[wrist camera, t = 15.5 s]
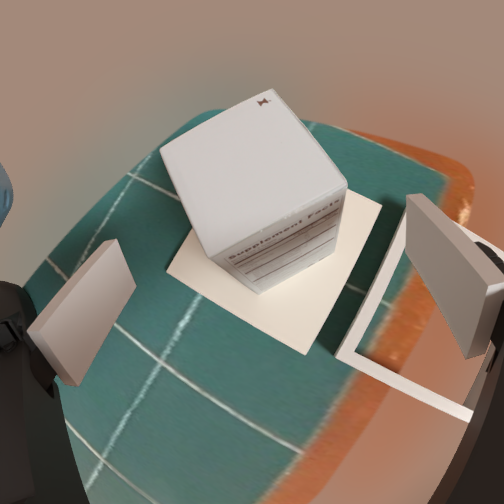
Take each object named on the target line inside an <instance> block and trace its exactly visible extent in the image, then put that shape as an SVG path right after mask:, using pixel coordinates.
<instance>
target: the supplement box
mask: <svg viewBox="0 0 504 504" xmlns="http://www.w3.org/2000/svg"><path fill="white" fill-rule="evenodd" d="M159 151H160V154H161V157H162V159H163V162H164V164H165V167H166V169H167V171H168V174H169V176H170V178H171V181H172V183H173V185H174V188H175V190H176V192H177V194H178V197H179V199H180V201H181V203H182V205H183V208H184V210H185V212H186V214H187V216H188V218H189V221H190V223H191V225H192V227H193V229H194V231H195V234H196V236H197V238H198V240H199V242H200V244H201V246H202V248H203V250H204V252H205V254H206V256H207V258H208V259H210V260H211V261H213V262H214V263H215V264H217V265H218V266H219V267H221V268H222V269H223V270H225V271H226V272H227V273H229V274H230V275H231V276H233V277H234V278H235V279H237V280H238V281H239V282H241V283H242V284H244V285H245V286H246V287H248V288H249V289H250V290H252V291H253V292H255V293H256V294H258V295H260V294H262V293H263V292H265V291H267V290H269V289H270V288H272V287H274V286H276V285H278V284H279V283H281V282H283V281H285V280H287V279H288V278H290V277H292V276H294V275H296V274H297V273H299V272H301V271H303V270H305V269H306V268H308V267H310V266H312V265H313V264H315V263H317V262H319V261H320V260H322V259H324V258H326V257H327V256H329V255H331V254H332V253H334V252H335V247H336V243H337V238H338V233H339V227H340V223H341V218H342V212H343V207H344V201H345V196H346V191H347V186H348V184H347V181H346V179H345V177H344V176H343V175H342V174H341V172H340V171H339V169H338V168H337V167H336V165H335V164H334V163H333V162H332V160H331V159H330V158H329V156H328V155H327V154H326V152H325V151H324V150H323V149H322V147H321V146H320V145H319V143H318V142H317V141H316V140H315V138H314V137H313V136H312V135H311V133H310V132H309V131H308V129H307V128H306V127H305V125H304V124H303V123H302V122H301V121H300V120H299V119H298V118H297V116H296V115H295V114H294V113H293V112H292V111H291V110H290V108H289V107H288V106H287V105H286V104H285V102H284V101H283V100H282V99H281V98H280V97H279V95H278V94H277V93H276V92H275V91H274V89H269V90H267V91H265V92H262V93H260V94H258V95H256V96H253V97H251V98H249V99H247V100H245V101H243V102H241V103H239V104H237V105H235V106H233V107H231V108H229V109H227V110H225V111H224V112H222V113H220V114H218V115H216V116H214V117H213V118H211V119H209V120H207V121H205V122H203V123H202V124H200V125H198V126H196V127H194V128H193V129H191V130H189V131H188V132H186V133H184V134H182V135H181V136H179V137H177V138H175V139H174V140H172V141H171V142H169V143H168V144H166V145H165V146H163V147H162V148H160V150H159Z"/></svg>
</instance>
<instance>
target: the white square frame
mask: <svg viewBox="0 0 504 504" xmlns="http://www.w3.org/2000/svg"><path fill="white" fill-rule="evenodd" d="M453 222H454V221H453ZM454 223H455V224H456V225H457V226H458V227H459V228H460V229H461V230H462V231H463V232H464V233H465V234H466V235H467V236H468V237H469V238H470V239H471V240H472V241H473V242H478V241H479V242H481V243H483V244H485V245H487V246H488V247H490V248H491V249H492V250H493V251H494V252H495V253H496V254H497V255H498V257H500V258H501V259H502V260H503V261H504V252H503V251H501V250H500V249H498V248H496V247H495V246H494V245H492V244H490V243H489V242H487V241H486V240H484V239H482V238H481V237H479V236H478V235H476V234H474V233H472V232H471V231H469V230H467V229H466V228H464V227H462V226H461V225H459V224H457V223H456V222H454ZM405 245H406V208H405V209H404V212H403V214H402V217H401V219H400V221H399V224H398V226H397V229H396V231H395V233H394V236H393V238H392V240H391V243H390V245H389V247H388V249H387V252H386V254H385V256H384V258H383V261H382V263H381V265H380V267H379V269H378V271H377V273H376V276H375V278H374V280H373V282H372V284H371V286H370V288H369V290H368V292H367V294H366V296H365V298H364V300H363V302H362V304H361V306H360V308H359V310H358V312H357V314H356V316H355V318H354V319H353V321H352V323H351V325H350V327H349V329H348V331H347V332H346V334H345V336H344V338H343V340H342V342H341V343H340V345H339V347H338V349H337V350H336V352H335V354H334V357H335V358H337V359H339V360H341V361H343V362H345V363H347V364H349V365H350V366H352V367H354V368H356V369H358V370H360V371H362V372H364V373H366V374H368V375H370V376H372V377H374V378H376V379H378V380H380V381H382V382H384V383H386V384H388V385H390V386H392V387H394V388H396V389H398V390H400V391H402V392H404V393H406V394H408V395H410V396H412V397H414V398H416V399H419V400H421V401H422V402H425V403H427V404H429V405H431V406H433V407H435V408H437V409H440V410H442V411H444V412H446V413H448V414H450V415H453V416H455V417H457V418H459V419H461V420H464V421H466V422H468V423H469V422H470V420H471V417H472V415H473V412H474V410H475V407H476V404H477V402H478V399H479V396H480V393H481V391H482V388H483V385H484V382H485V379H486V375H487V372H485V371H486V369H487V367H488V365H489V362H490V360H491V358H492V356H493V353H494V351H495V346H494V345H493V343H492V342H491V345H490V347H489V350H488V352H487V355H486V357H485V360H484V362H483V364H482V366H481V369H480V371H479V373H478V375H477V378H476V380H475V382H474V384H473V386H472V388H471V390H470V392H469V394H468V396H467V398H466V400H465V402H464V404H463V405H462V406H461V405H459V404H457V403H455V402H453V401H451V400H449V399H447V398H445V397H443V396H441V395H439V394H437V393H435V392H432V391H430V390H428V389H426V388H424V387H422V386H420V385H418V384H416V383H414V382H412V381H410V380H408V379H406V378H404V377H402V376H400V375H398V374H396V373H394V372H392V371H390V370H388V369H386V368H384V367H382V366H380V365H379V364H377V363H375V362H373V361H371V360H369V359H367V358H365V357H363V356H361V355H359V354H357V353H355V352H354V351H355V349H356V347H357V345H358V343H359V341H360V340H361V338H362V336H363V334H364V332H365V330H366V328H367V326H368V324H369V323H370V321H371V319H372V317H373V315H374V313H375V311H376V309H377V307H378V305H379V303H380V301H381V298H382V296H383V294H384V292H385V290H386V288H387V286H388V284H389V282H390V279H391V277H392V275H393V273H394V271H395V268H396V266H397V264H398V261H399V259H400V257H401V254H402V252H403V250H404V247H405Z"/></svg>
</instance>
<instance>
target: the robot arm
mask: <svg viewBox="0 0 504 504" xmlns="http://www.w3.org/2000/svg"><path fill="white" fill-rule="evenodd" d="M12 203H13V189H12V184H11V182H10V179H9V177H8V175H7V173H6V171H5V169H4V168H3V166H2V165H1V163H0V227H1V225H2V223H3V222H4V220H5V218H6V216H7V214H8V213H9V211H10V209H11V206H12ZM405 253H406V254H407V256H408V257H409V259H410V260H411V262H412V264H413V265H414V267H415V268H416V270H417V272H418V273H419V275H420V277H421V278H422V280H423V282H424V283H425V285H426V287H427V288H428V290H429V292H430V293H431V295H432V297H433V299H434V300H435V302H436V304H437V306H438V307H439V309H440V311H441V313H442V314H443V316H444V318H445V320H446V322H447V324H448V326H449V327H450V329H451V331H452V333H453V335H454V337H455V339H456V341H457V343H458V345H459V347H460V349H461V351H462V353H463V355H464V357H465V359H469V358H472V357H476V356H479V355H482V354H485V352H486V350H487V347H488V345H489V342H490V339H491V341H492V343H493V345H494V346H495V351H494V353H493V356H492V358H491V360H490V362H489V365H488V367H487V369H486V371H485V372H487V375H486V379H485V382H484V385H483V388H482V391H481V393H480V396H479V399H478V402H477V404H476V407H475V410H474V412H473V415H472V417H471V420H470V422H469V424H468V427H467V429H466V431H465V434H464V436H463V438H462V440H461V443H460V445H459V447H458V449H457V451H456V453H455V455H454V457H453V459H452V461H451V463H450V465H449V467H448V469H447V471H446V473H445V475H444V476H443V478H442V480H441V482H440V484H439V485H438V487H437V489H436V490H435V492H434V494H433V495H432V497H431V499H430V500H429V502H428V504H504V261H503V260H502V259H501V258H500V257H498V255H497V254H496V253H495V252H494V251H493V250H492V249H491V248H490V247H488V246H487V245H485V244H483V243H481V242H479V241H478V242H473V241H472V240H471V239H470V238H469V237H468V236H467V235H466V234H465V233H464V232H463V231H462V230H461V229H460V228H459V227H458V226H457V225H456V224H455V223H454V222H453V221H452V220H451V219H450V218H449V217H448V216H446V215H445V214H444V213H443V212H442V211H441V210H440V209H439V208H438V207H437V206H436V205H434V204H433V203H432V202H431V201H430V200H429V199H428V198H427V197H425V196H424V195H423V194H422V193H421V194H412V195H406V246H405ZM136 287H137V286H136V284H135V282H134V279H133V277H132V275H131V272H130V270H129V268H128V265H127V263H126V261H125V258H124V256H123V253H122V251H121V248H120V246H119V243H118V241H117V239H113V240H108V241H104V242H103V243H102V244H101V245H100V246H99V247H98V248H97V249H96V251H95V252H94V253H93V254H92V255H91V256H90V257H89V258H88V259H87V260H86V261H85V262H84V263H83V265H82V266H81V267H80V268H79V269H78V270H77V271H76V272H75V273H74V274H73V276H72V277H71V278H70V279H69V280H68V281H67V282H66V284H65V285H64V286H63V287H62V288H61V289H60V290H59V292H58V293H57V294H56V295H55V296H54V297H53V299H52V300H51V301H50V302H49V303H48V305H47V306H46V307H45V308H44V309H43V311H42V312H41V313H40V314H39V316H38V317H37V316H36V312H35V309H34V306H33V304H32V301H31V299H30V298H29V296H28V294H27V293H26V292H25V291H24V290H23V289H22V288H21V287H20V286H18V285H15V284H12V283H9V282H5V281H0V504H90V503H89V501H88V498H87V495H86V492H85V490H84V487H83V484H82V481H81V478H80V475H79V471H78V468H77V465H76V462H75V458H74V455H73V451H72V448H71V444H70V440H69V436H68V432H67V428H66V423H65V419H64V414H63V410H62V405H61V400H60V394H59V389H58V386H57V384H56V383H55V381H54V378H55V376H56V375H58V376H59V378H60V379H61V380H62V381H63V383H64V384H65V385H70V386H78V387H79V385H80V383H81V381H82V379H83V378H84V376H85V374H86V372H87V370H88V368H89V367H90V365H91V363H92V361H93V359H94V358H95V356H96V354H97V352H98V350H99V349H100V347H101V345H102V343H103V342H104V340H105V338H106V336H107V335H108V333H109V331H110V330H111V328H112V326H113V324H114V323H115V321H116V319H117V318H118V316H119V314H120V313H121V311H122V309H123V308H124V306H125V304H126V303H127V301H128V300H129V298H130V296H131V295H132V293H133V291H134V290H135V288H136Z"/></svg>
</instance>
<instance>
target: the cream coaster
mask: <svg viewBox="0 0 504 504" xmlns="http://www.w3.org/2000/svg"><path fill="white" fill-rule="evenodd" d="M381 207H382V205H380V204H378V203H376V202H374V201H372V200H370V199H368V198H366V197H364V196H361V195H359V194H357V193H355V192H353V191H351V190H349V189H347V191H346V196H345V201H344V207H343V212H342V218H341V223H340V227H339V233H338V238H337V243H336V247H335V252H334V253H332V254H331V255H329V256H327V257H326V258H324V259H322V260H320V261H319V262H317V263H315V264H313V265H312V266H310V267H308V268H306V269H305V270H303V271H301V272H299V273H297V274H296V275H294V276H292V277H290V278H288V279H287V280H285V281H283V282H281V283H279V284H278V285H276V286H274V287H272V288H270V289H269V290H267V291H265V292H263V293H262V294H260V295H258V294H256V293H255V292H253V291H252V290H250V289H249V288H248V287H246V286H245V285H244V284H242V283H241V282H239V281H238V280H237V279H235V278H234V277H233V276H231V275H230V274H229V273H227V272H226V271H225V270H223V269H222V268H221V267H219V266H218V265H217V264H215V263H214V262H213V261H211V260H210V259H208V258H207V256H206V254H205V252H204V250H203V248H202V246H201V244H200V242H199V240H198V238H197V236H196V234H195V231H194V229H193V228H192V229H191V231H190V233H189V234H188V236H187V238H186V239H185V241H184V243H183V244H182V246H181V247H180V249H179V251H178V253H177V254H176V256H175V258H174V259H173V261H172V263H171V264H170V266H169V268H168V269H167V271H166V272H167V273H169V274H170V275H172V276H173V277H175V278H176V279H178V280H179V281H181V282H183V283H184V284H186V285H187V286H189V287H190V288H192V289H194V290H195V291H197V292H198V293H200V294H202V295H203V296H205V297H206V298H208V299H210V300H211V301H213V302H214V303H216V304H218V305H219V306H221V307H223V308H224V309H226V310H228V311H229V312H231V313H233V314H234V315H236V316H238V317H239V318H241V319H243V320H244V321H246V322H248V323H249V324H251V325H253V326H255V327H256V328H258V329H260V330H261V331H263V332H265V333H267V334H268V335H270V336H272V337H274V338H275V339H277V340H279V341H281V342H282V343H284V344H286V345H288V346H289V347H291V348H293V349H295V350H297V351H298V352H300V353H302V354H304V355H306V354H307V352H308V350H309V349H310V347H311V345H312V343H313V342H314V340H315V338H316V336H317V335H318V333H319V331H320V329H321V328H322V326H323V324H324V322H325V320H326V319H327V317H328V315H329V313H330V311H331V309H332V308H333V306H334V304H335V302H336V300H337V298H338V296H339V294H340V292H341V291H342V289H343V287H344V285H345V283H346V281H347V279H348V277H349V275H350V273H351V271H352V269H353V267H354V265H355V263H356V261H357V259H358V257H359V255H360V253H361V251H362V249H363V246H364V244H365V242H366V240H367V238H368V236H369V234H370V232H371V229H372V227H373V225H374V223H375V221H376V218H377V216H378V214H379V212H380V210H381Z"/></svg>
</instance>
